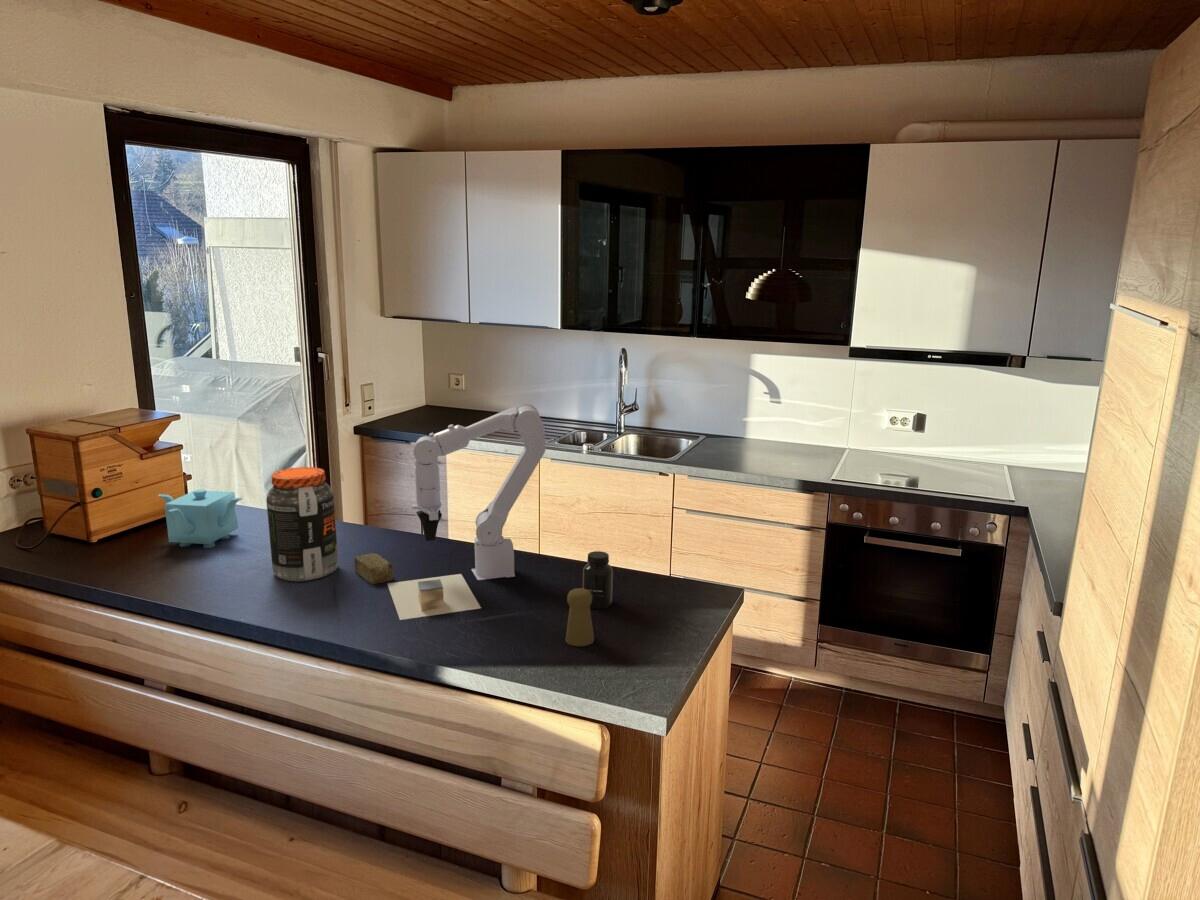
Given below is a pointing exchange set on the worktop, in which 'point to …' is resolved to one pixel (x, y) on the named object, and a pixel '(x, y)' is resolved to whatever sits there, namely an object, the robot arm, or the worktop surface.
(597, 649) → the worktop surface
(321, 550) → the supplement tub
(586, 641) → the wooden peg doll
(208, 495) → the teakettle
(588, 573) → the supplement bottle
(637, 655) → the worktop surface
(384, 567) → the stone block
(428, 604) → the cube
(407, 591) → the mat
